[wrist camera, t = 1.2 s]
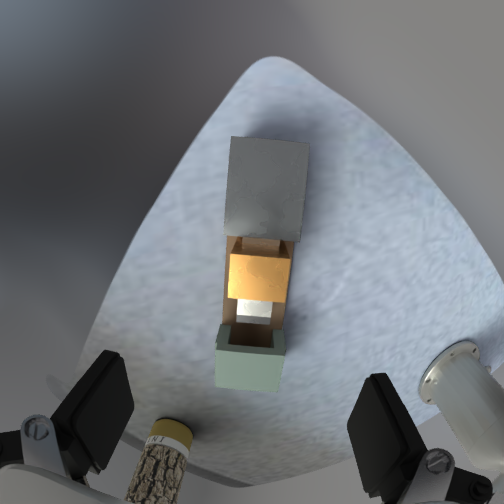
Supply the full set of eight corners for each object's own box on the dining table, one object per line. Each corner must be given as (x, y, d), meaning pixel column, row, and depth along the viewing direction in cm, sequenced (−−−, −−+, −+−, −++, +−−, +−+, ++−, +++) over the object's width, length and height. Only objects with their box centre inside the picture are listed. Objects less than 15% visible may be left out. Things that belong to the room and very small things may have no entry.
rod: (291, 160, 25) (301, 154, 18) (274, 310, 29) (278, 347, 22) (244, 156, 25) (238, 148, 18) (233, 306, 29) (225, 342, 22)
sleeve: (301, 150, 25) (309, 143, 20) (293, 231, 27) (299, 242, 22) (236, 143, 25) (231, 136, 20) (230, 225, 27) (223, 235, 22)
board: (301, 151, 26) (303, 150, 25) (275, 358, 32) (276, 364, 31) (235, 145, 26) (234, 143, 25) (222, 354, 32) (220, 359, 31)
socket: (283, 329, 30) (286, 355, 25) (277, 364, 31) (279, 392, 26) (220, 324, 30) (213, 349, 25) (219, 359, 31) (213, 386, 26)
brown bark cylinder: (200, 430, 37) (170, 565, 13) (183, 445, 38) (152, 563, 14) (162, 411, 36) (113, 545, 12) (148, 428, 37) (103, 544, 13)
